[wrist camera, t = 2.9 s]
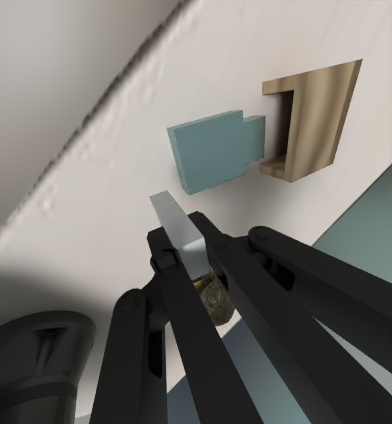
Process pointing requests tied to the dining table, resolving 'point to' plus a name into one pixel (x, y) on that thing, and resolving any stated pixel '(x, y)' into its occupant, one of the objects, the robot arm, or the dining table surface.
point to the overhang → (313, 118)
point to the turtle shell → (215, 300)
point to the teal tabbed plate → (216, 148)
